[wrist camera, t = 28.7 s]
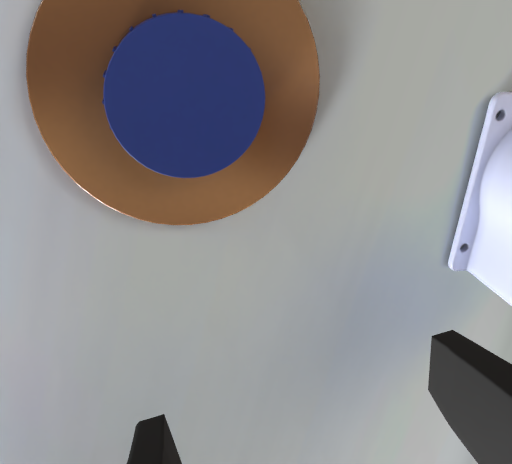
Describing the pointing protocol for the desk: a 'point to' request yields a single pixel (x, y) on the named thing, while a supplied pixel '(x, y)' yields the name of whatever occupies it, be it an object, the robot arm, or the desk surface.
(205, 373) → the desk surface
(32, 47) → the coaster
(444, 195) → the desk surface
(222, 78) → the lid
